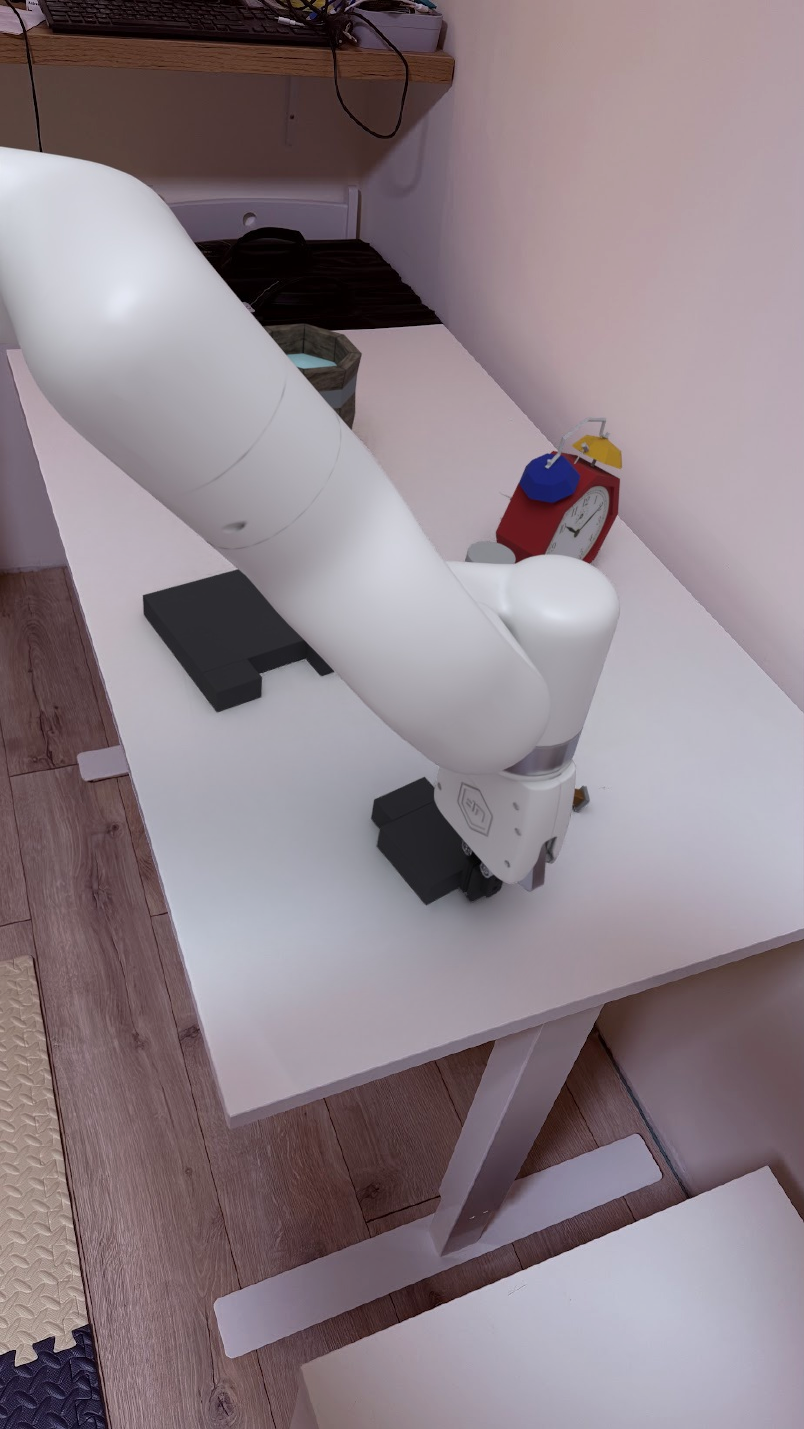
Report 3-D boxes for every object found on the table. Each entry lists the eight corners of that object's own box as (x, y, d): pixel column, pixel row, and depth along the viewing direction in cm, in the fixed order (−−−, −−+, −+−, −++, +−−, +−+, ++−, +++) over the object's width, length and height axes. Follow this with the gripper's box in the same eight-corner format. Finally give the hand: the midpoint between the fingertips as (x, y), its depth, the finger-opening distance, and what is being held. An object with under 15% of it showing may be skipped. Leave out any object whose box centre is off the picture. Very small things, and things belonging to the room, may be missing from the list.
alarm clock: (525, 615, 111) (569, 451, 97) (466, 577, 115) (500, 413, 101) (602, 568, 119) (652, 411, 106) (545, 534, 123) (586, 378, 110)
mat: (216, 712, 94) (216, 692, 92) (143, 614, 102) (142, 594, 101) (361, 662, 101) (363, 643, 100) (281, 575, 110) (282, 556, 108)
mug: (245, 431, 132) (248, 317, 121) (348, 440, 133) (360, 329, 123) (236, 514, 118) (238, 393, 107) (352, 523, 119) (365, 405, 109)
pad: (425, 905, 81) (430, 886, 79) (358, 824, 86) (361, 805, 84) (501, 865, 85) (507, 846, 83) (432, 790, 90) (436, 770, 88)
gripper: (416, 677, 71) (389, 841, 84) (552, 822, 63) (499, 980, 75) (500, 646, 75) (462, 808, 87) (639, 779, 66) (574, 937, 79)
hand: (479, 888), depth 81 cm, fingers closed
